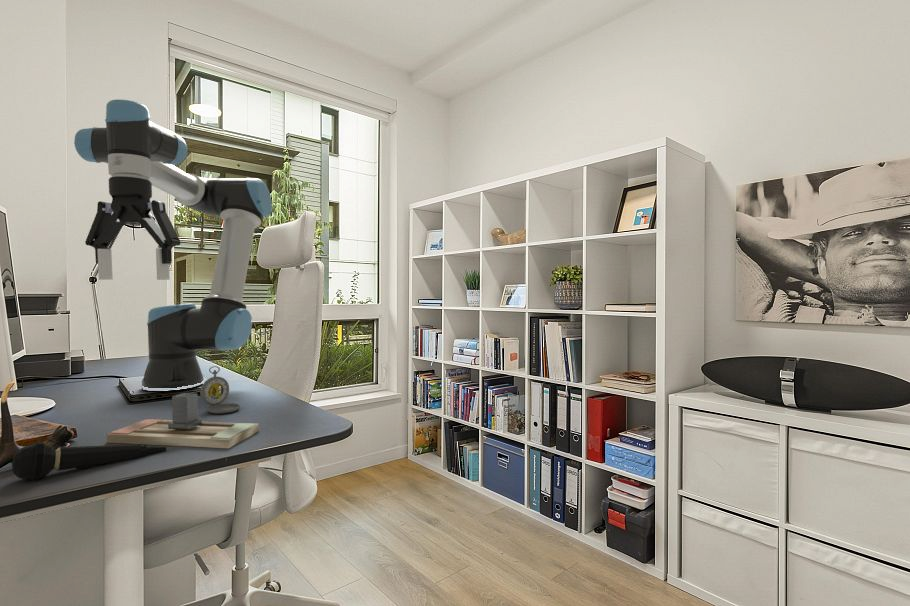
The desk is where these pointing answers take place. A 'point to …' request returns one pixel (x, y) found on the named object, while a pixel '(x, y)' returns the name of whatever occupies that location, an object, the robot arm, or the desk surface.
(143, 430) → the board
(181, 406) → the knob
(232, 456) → the desk surface
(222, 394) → the pocket watch
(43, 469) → the microphone
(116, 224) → the robot arm
